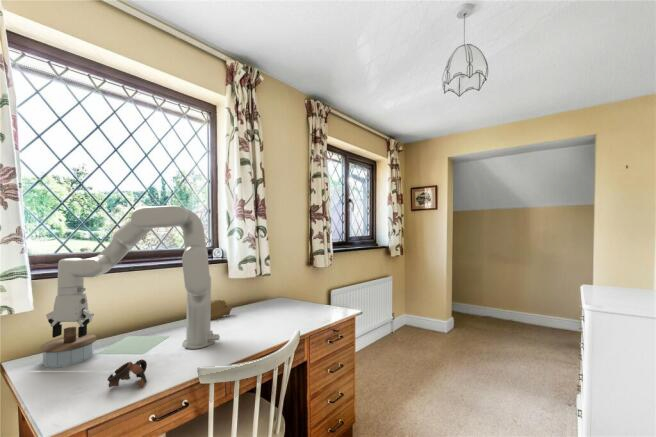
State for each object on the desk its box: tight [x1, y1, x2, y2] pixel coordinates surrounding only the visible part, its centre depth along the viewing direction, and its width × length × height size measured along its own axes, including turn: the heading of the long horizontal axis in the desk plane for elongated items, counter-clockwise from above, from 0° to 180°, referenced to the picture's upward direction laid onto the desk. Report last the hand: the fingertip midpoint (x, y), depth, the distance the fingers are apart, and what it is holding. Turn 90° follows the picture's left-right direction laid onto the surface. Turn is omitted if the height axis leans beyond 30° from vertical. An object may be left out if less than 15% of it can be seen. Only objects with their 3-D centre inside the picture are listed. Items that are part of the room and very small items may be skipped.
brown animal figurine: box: [106, 358, 148, 389], centre depth 96 cm, size 12×9×8 cm
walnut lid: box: [40, 326, 98, 353], centre depth 113 cm, size 16×16×6 cm
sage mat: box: [95, 335, 170, 355], centre depth 127 cm, size 19×19×1 cm
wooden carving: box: [211, 299, 233, 320], centre depth 165 cm, size 16×5×10 cm, turn 133°
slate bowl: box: [42, 342, 95, 369], centre depth 113 cm, size 14×14×6 cm
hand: (69, 336), depth 113 cm, fingers open, 9 cm apart
